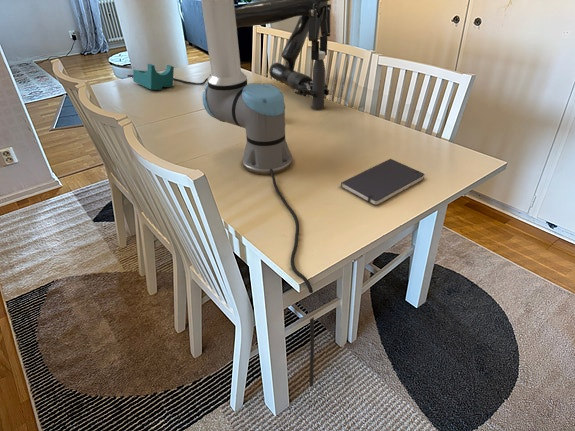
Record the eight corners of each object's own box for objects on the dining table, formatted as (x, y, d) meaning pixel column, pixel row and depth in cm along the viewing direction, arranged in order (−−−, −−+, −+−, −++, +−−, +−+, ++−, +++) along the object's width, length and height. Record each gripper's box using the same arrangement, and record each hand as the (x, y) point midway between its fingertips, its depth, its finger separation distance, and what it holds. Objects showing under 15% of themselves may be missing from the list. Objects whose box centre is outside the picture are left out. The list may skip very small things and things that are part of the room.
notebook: (389, 163, 124) (340, 187, 113) (390, 158, 123) (341, 182, 112) (424, 178, 116) (375, 206, 105) (425, 174, 115) (376, 201, 104)
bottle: (325, 106, 164) (327, 53, 152) (322, 110, 161) (323, 56, 149) (314, 105, 166) (314, 52, 154) (310, 109, 162) (311, 55, 150)
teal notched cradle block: (172, 90, 189) (173, 66, 185) (150, 89, 182) (151, 65, 177) (154, 81, 200) (155, 59, 196) (133, 80, 193) (133, 57, 188)
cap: (325, 59, 150) (325, 53, 149) (313, 59, 150) (313, 54, 149) (325, 56, 154) (325, 50, 152) (313, 56, 154) (313, 50, 153)
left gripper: (284, 76, 165) (306, 87, 153) (314, 70, 170) (337, 81, 158) (285, 94, 169) (306, 107, 157) (313, 88, 175) (336, 99, 163)
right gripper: (318, -9, 130) (317, 65, 143) (341, -16, 144) (338, 52, 157) (297, -10, 133) (298, 62, 146) (322, -17, 147) (321, 50, 160)
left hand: (322, 94), depth 158 cm, fingers closed on bottle, 4 cm apart
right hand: (319, 57), depth 152 cm, fingers open, 7 cm apart
